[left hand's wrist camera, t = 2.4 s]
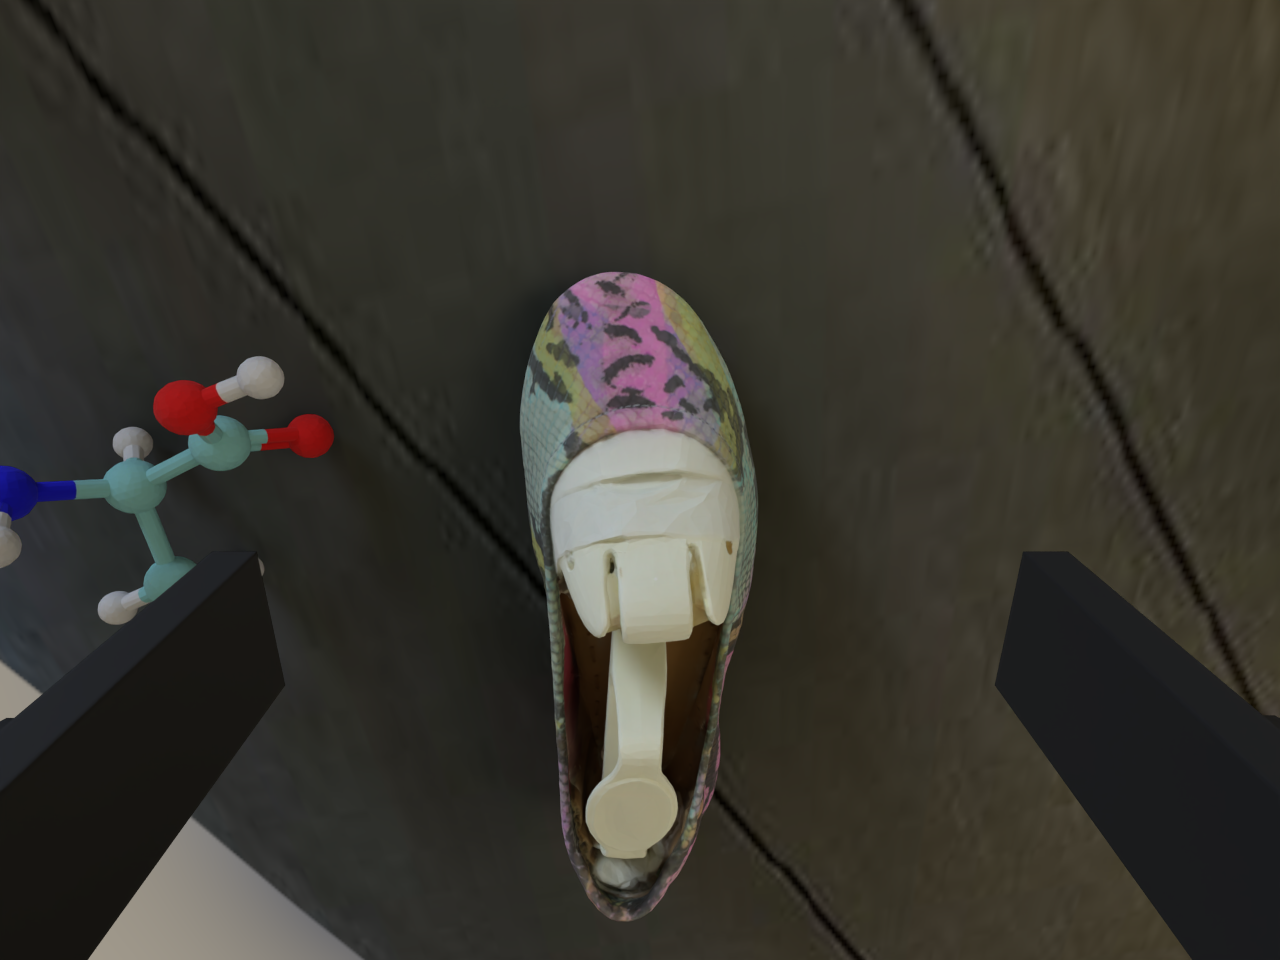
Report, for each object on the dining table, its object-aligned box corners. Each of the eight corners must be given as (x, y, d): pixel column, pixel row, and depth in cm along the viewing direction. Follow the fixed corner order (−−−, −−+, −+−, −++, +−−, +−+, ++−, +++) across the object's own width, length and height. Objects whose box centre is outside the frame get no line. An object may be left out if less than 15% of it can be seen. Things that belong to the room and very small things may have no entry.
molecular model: (335, 693, 27) (20, 773, 18) (180, 597, 31) (-145, 622, 22) (425, 399, 27) (143, 328, 17) (255, 337, 30) (-50, 252, 21)
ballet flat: (763, 267, 25) (820, 304, 17) (731, 804, 34) (758, 992, 26) (520, 266, 25) (465, 304, 17) (551, 804, 34) (524, 992, 26)
